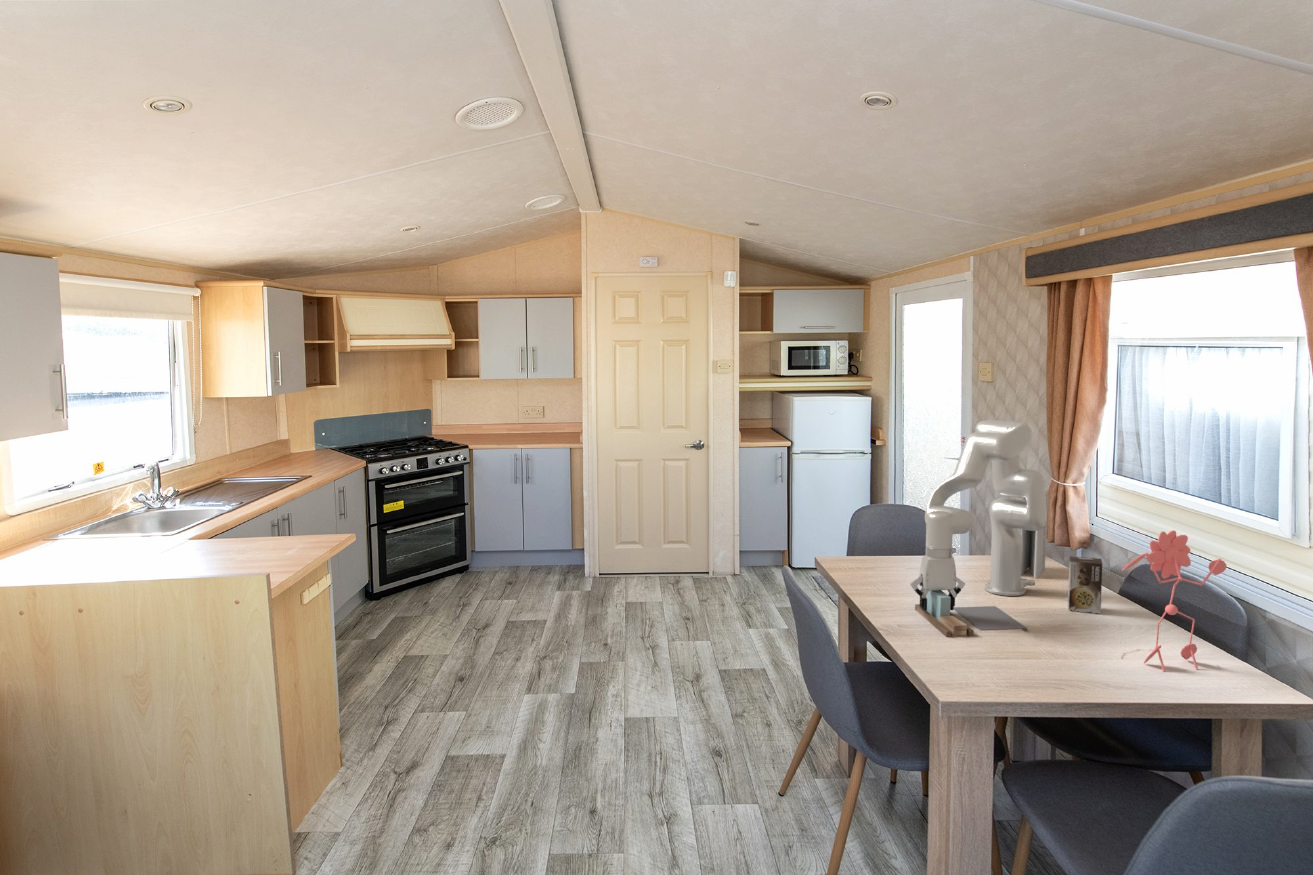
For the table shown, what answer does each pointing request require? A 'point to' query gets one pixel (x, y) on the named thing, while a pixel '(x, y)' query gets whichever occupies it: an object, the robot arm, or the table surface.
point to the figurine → (1169, 561)
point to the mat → (989, 618)
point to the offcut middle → (957, 632)
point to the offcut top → (953, 623)
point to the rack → (937, 624)
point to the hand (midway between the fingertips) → (937, 608)
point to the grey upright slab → (1034, 548)
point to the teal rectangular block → (938, 604)
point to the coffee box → (1085, 584)
